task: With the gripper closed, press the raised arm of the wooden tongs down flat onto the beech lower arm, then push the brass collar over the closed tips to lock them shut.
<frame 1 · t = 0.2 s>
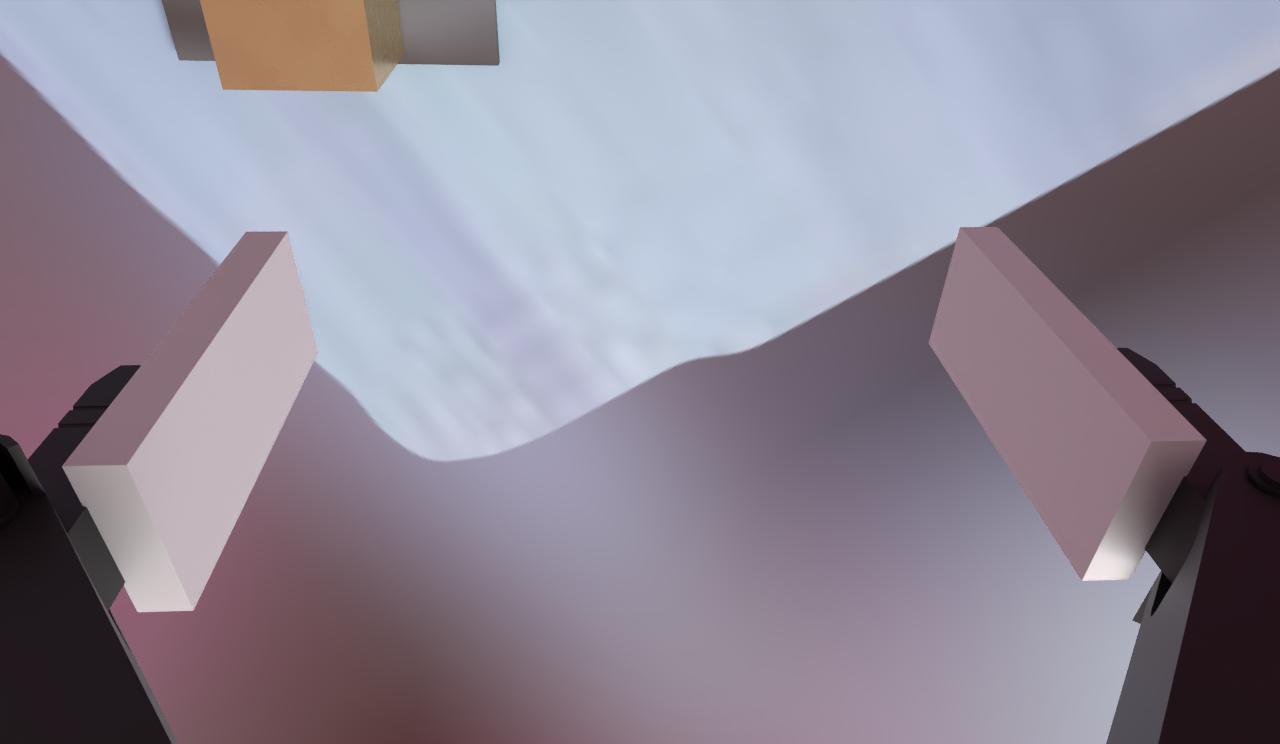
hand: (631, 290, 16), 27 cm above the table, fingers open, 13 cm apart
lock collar: (309, 9, 34), point 4 cm above the table, slide at 0.0 cm
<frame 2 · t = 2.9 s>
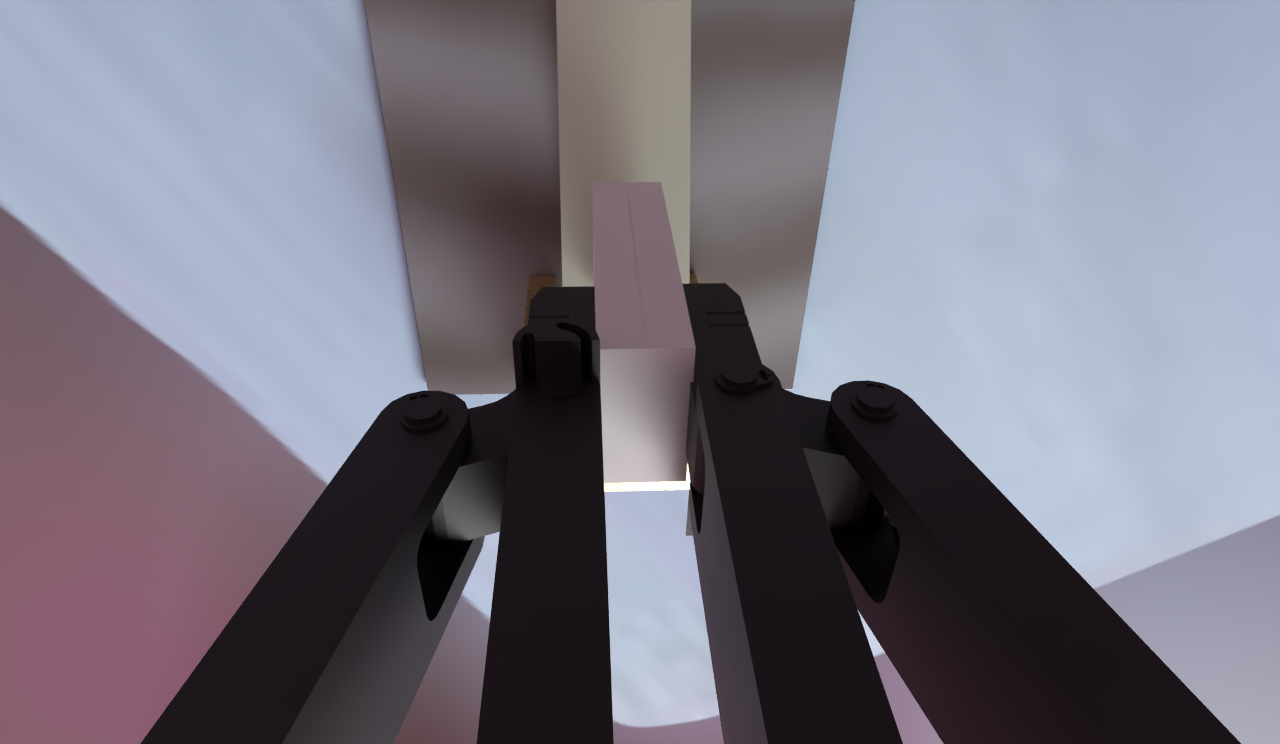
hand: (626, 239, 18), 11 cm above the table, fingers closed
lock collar: (615, 378, 29), point 4 cm above the table, slide at 0.0 cm
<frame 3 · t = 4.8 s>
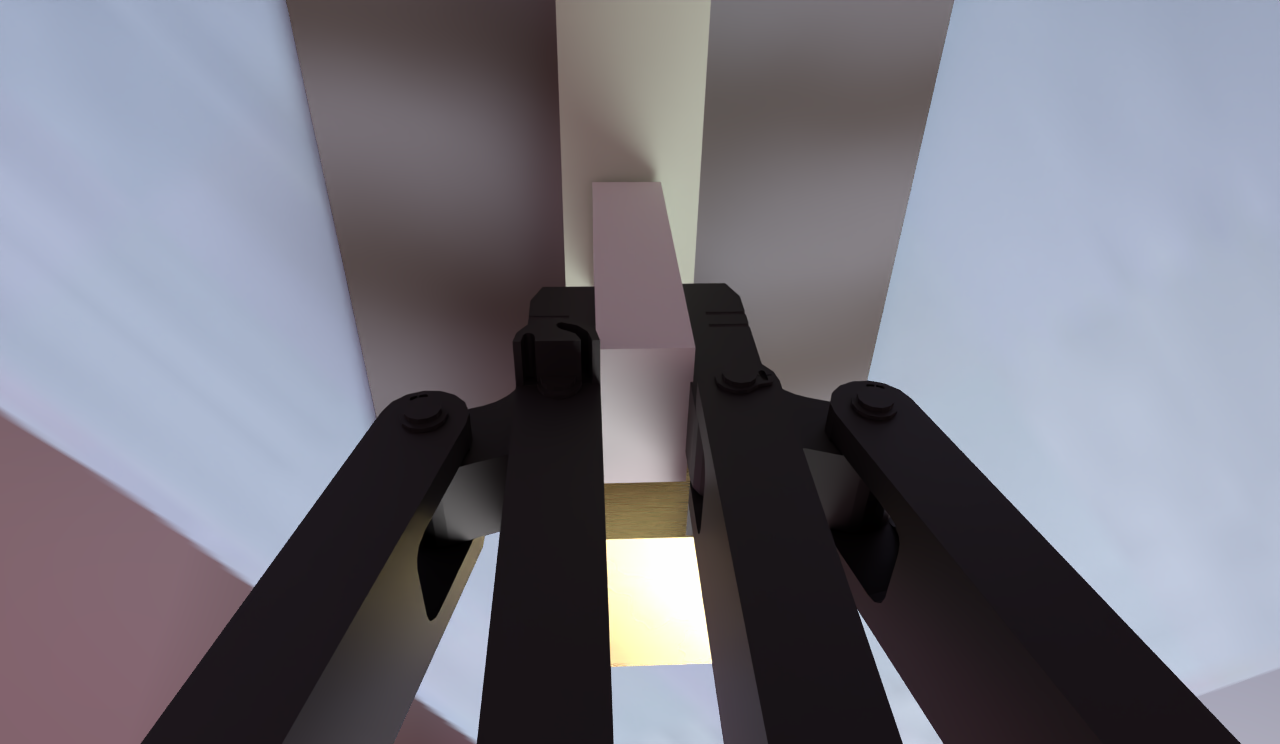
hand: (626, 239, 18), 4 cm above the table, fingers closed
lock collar: (626, 516, 23), point 4 cm above the table, slide at 0.0 cm
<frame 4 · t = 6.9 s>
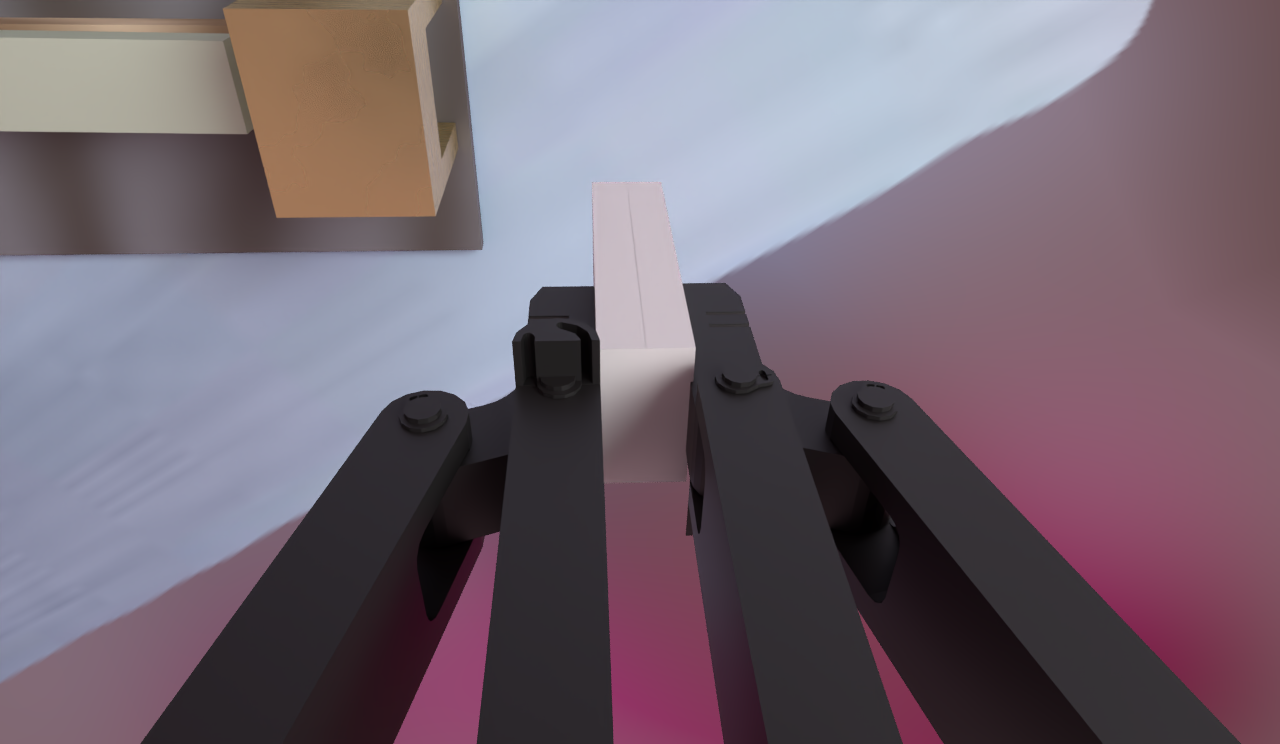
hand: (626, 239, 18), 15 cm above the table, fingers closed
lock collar: (360, 90, 27), point 4 cm above the table, slide at 0.0 cm
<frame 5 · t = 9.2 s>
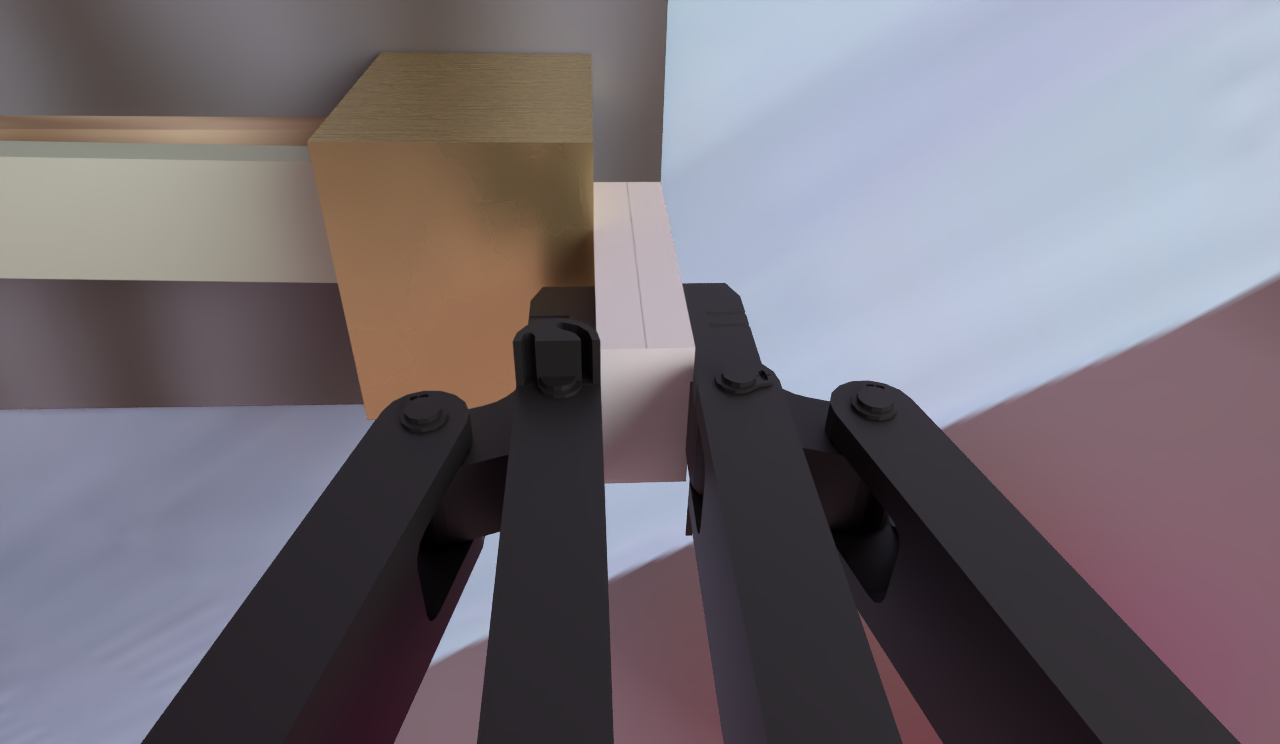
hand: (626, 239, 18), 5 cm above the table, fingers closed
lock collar: (485, 227, 19), point 4 cm above the table, slide at 1.3 cm, touching gripper
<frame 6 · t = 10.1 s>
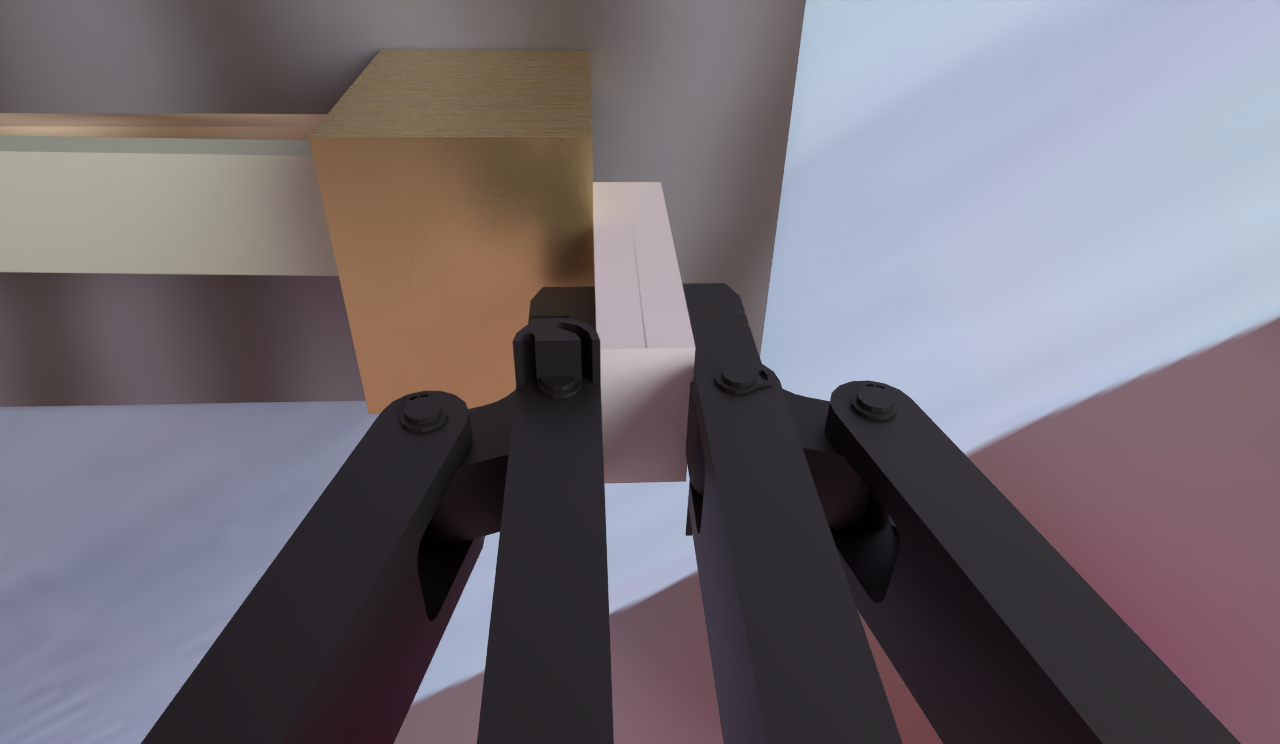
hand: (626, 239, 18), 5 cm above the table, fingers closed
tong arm: (69, 206, 19), point 3 cm above the table, hinge at 2.4°
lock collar: (484, 223, 19), point 4 cm above the table, slide at 4.7 cm, touching gripper
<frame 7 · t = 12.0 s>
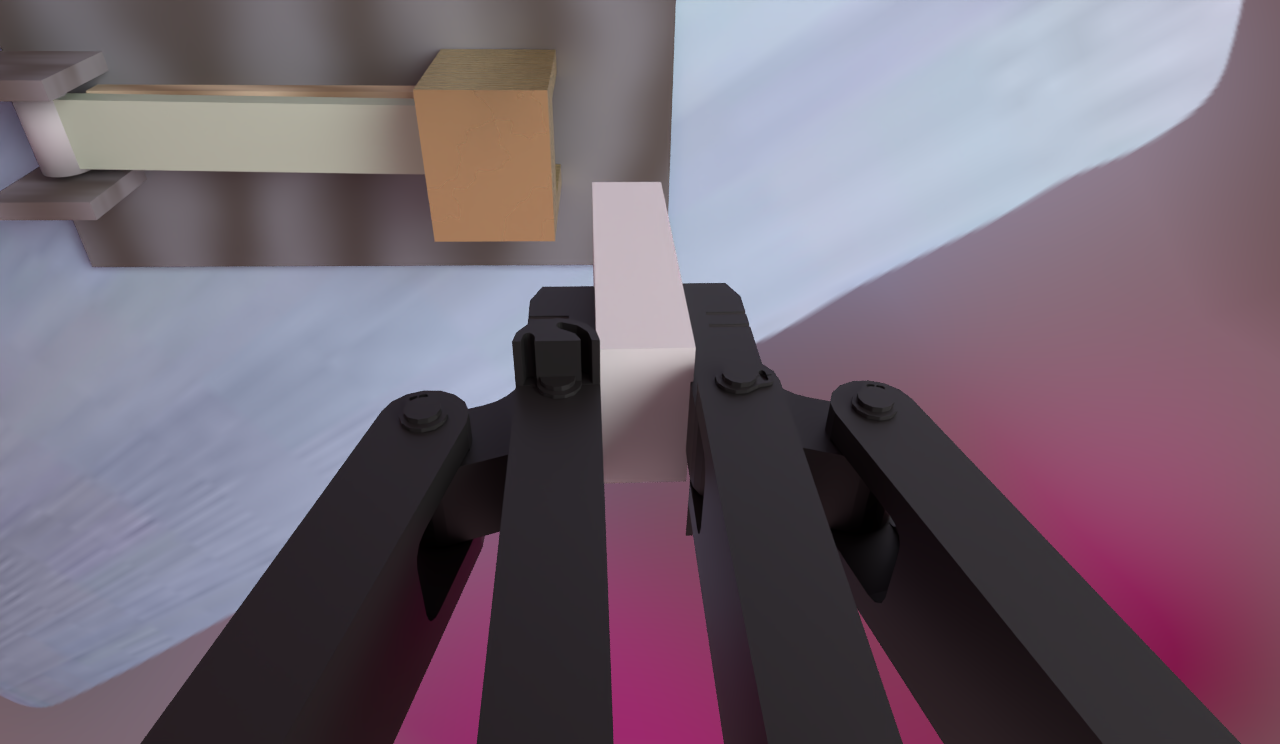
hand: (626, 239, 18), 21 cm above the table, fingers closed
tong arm: (272, 134, 35), point 3 cm above the table, hinge at 2.4°
tongs base: (82, 114, 37), on the table
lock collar: (496, 143, 35), point 4 cm above the table, slide at 4.7 cm
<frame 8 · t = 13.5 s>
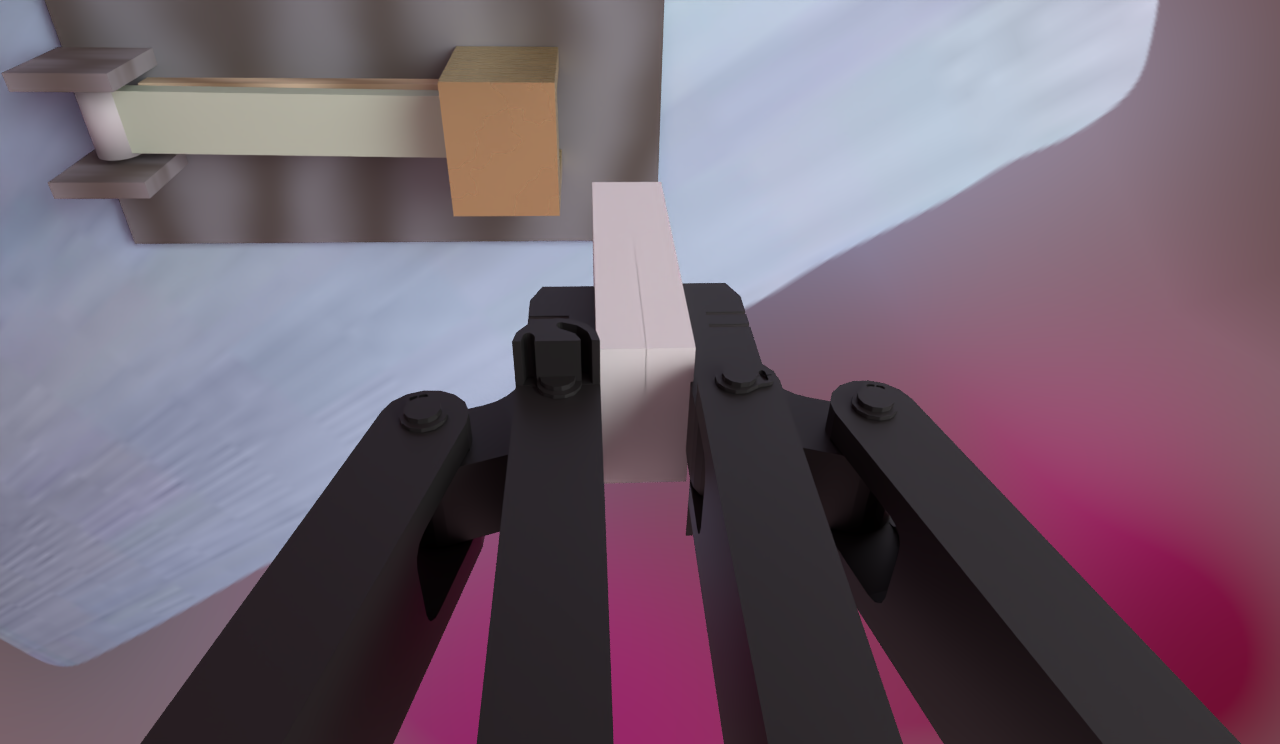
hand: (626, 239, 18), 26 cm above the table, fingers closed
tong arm: (306, 122, 39), point 3 cm above the table, hinge at 2.4°
tongs base: (131, 104, 41), on the table
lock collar: (507, 129, 39), point 4 cm above the table, slide at 4.7 cm
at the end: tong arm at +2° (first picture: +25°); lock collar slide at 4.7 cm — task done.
